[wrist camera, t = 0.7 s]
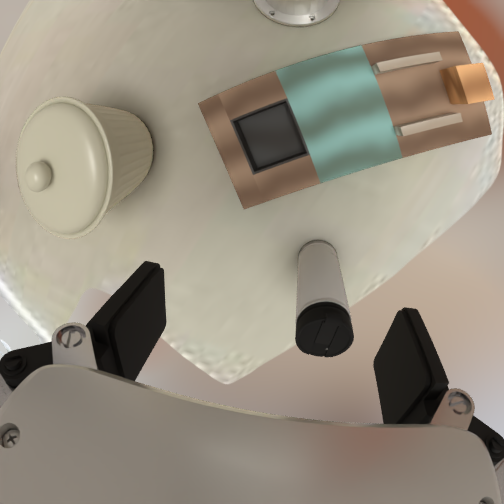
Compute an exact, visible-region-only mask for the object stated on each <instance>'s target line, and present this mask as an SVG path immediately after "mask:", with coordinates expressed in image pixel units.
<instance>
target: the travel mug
mask: <svg viewBox="0 0 504 504" xmlns="http://www.w3.org/2000/svg"><path fill="white" fill-rule="evenodd" d="M353 338H354V335H353V329H352V324H351V316H350V311H349V306H348V301H347V296H346V292H345V287H344V283H343V278H342V274H341V270H340V265H339V261H338V257H337V253H336V250H335V249H334V247H333V246H332V245H331V244H329V243H327V242H325V241H321V240H315V241H311V242H309V243H307V244H306V245H304V246H303V247H302V249H301V250H300V252H299V255H298V280H297V306H296V337H295V339H296V344H297V346H298V348H299V349H300V350H301V351H302V352H304V353H306V354H311V355H314V356H321V357H322V356H325V357H333V356H337V355H339V354H341V353H343V352H345V351H346V350H347V349H348V348H349V347H350V346H351V344H352V342H353Z"/></svg>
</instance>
